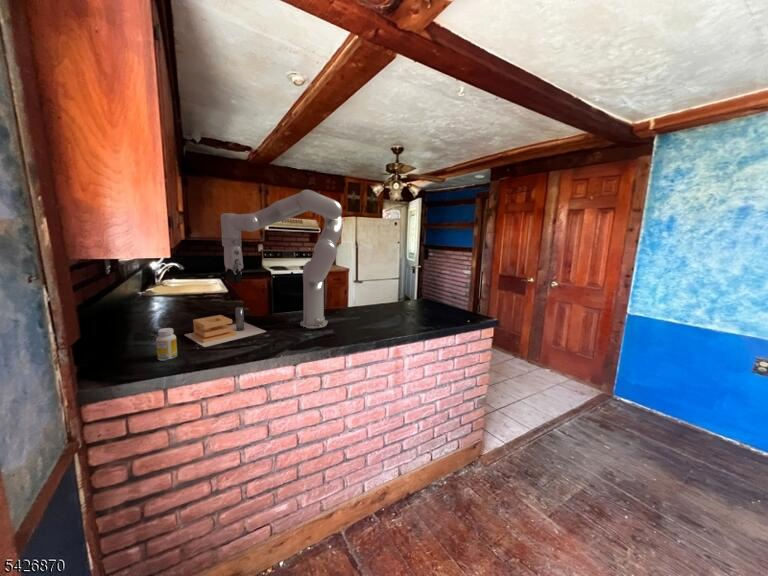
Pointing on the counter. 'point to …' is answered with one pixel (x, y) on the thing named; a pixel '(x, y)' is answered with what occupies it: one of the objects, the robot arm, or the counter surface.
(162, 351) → the supplement bottle
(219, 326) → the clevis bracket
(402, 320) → the counter surface
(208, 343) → the mat
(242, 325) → the pin
